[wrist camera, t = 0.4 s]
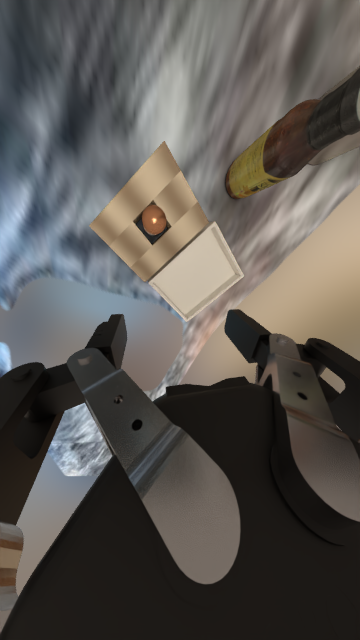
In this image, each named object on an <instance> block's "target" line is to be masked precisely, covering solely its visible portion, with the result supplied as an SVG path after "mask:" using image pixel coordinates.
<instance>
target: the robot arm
mask: <svg viewBox="0 0 360 640" xmlns="http://www.w3.org/2000/svg"><path fill="white" fill-rule="evenodd" d="M359 68H360V66H359V67H358V68H357V69H355V70H354V71H353V72H352V73H350V74H349V75H348V76H347V77H345V78H344V79H343V80H342V81H340V82H339V83H338V84H337V85H336V86H334V87H333V88H332V89H331V90H329V91H328V92H327V93H326V94H324V95H323V96H322V97H321V98H320V99H319V100H322V99H323V98H324V97H325V96H326V95H328V94H329V93H331V92H332V91H334V90H336V89H337V88H338V87H339V86H341V85H342V84H343V83H344V82H346V81H347V80H348V79H349V78H351V77H352V75H353V74H354V73H355V72H356V71H357V70H358V69H359ZM358 147H360V131H359V132H357V133H355V134H353V135H347V136H345V137H343V138H341V139H339V140H337V141H335V142H333V143H332V144H330V145H329V146H327V147H326V148H324V149H322V150H321V151H320V152H319V153H318V154H317V155H316V156H315V157H314V158H313V159H312V160H311V161H309V162H308V164H311V165H317V164H321V163H323V162H325V161H327V160H330V159H332V158H334V157H337V156H339V155H341V154H344V153H346V152H348V151H351V150H353V149H355V148H358ZM225 333H226V335H227V336H228V337H229V338H230V340H231V341H232V342H233V344H234V345H235V346H236V347H237V349H238V350H239V351H240V352H241V354H242V355H243V356H244V358H245V359H246V360H247V361H248V363H256V362H257V363H258V364H257V366H256V378H255V384H253V383H249V382H248V381H247V379H246V378H245V377H244V376H243V377H236V378H228V379H225V380H222V381H220V382H218V383H216V384H213V385H211V386H202V385H191V384H183V385H176V386H168V387H166V394H164V395H162V396H160V397H159V398H157V399H155V400H154V401H153V402H152V401H151V400H150V399H149V397H148V396H147V395H146V394H145V393H144V392H143V391H142V390H141V389H140V388H139V387H138V386H137V384H136V383H135V382H134V381H133V380H132V379H131V378H130V377H129V376H128V375H127V374H126V372H125V371H123V369H121V365H122V360H123V355H124V351H125V347H126V342H127V331H126V325H125V320H124V315H123V314H115V315H111V316H110V318H109V321H108V322H103V323H102V324H100V325H99V326H98V327H97V329H96V330H95V332H94V334H93V336H92V337H91V339H90V340H89V342H88V344H87V346H86V347H85V349H83V350H80V351H78V352H76V353H74V354H73V355H72V356H70V357H69V359H68V360H67V363H65V364H62V365H59V366H55V367H52V368H48V369H46V368H45V367H44V365H43V364H42V363H38V362H35V363H34V362H33V363H28V364H24V365H21V366H19V367H16V368H14V369H12V370H10V371H9V372H7V373H6V374H5V375H3V376H2V377H1V378H0V640H360V361H358V360H357V359H355V358H353V357H352V356H350V355H348V354H347V353H345V352H344V351H342V350H340V349H339V348H337V347H335V346H334V345H332V344H330V343H329V342H326V341H324V340H321V339H317V338H309V339H308V340H307V342H306V344H305V345H303V344H296V343H295V342H294V341H293V340H292V339H291V338H289V337H287V336H285V335H282V334H271V333H270V332H269V331H268V330H266V329H265V328H264V327H263V326H261V325H260V324H259V323H257V322H256V321H255V320H254V319H252V318H251V317H249V316H247V315H246V314H245V313H243V312H242V311H241V310H239V309H237V310H229V311H228V314H227V318H226V323H225ZM326 367H327V368H328V369H330V370H331V371H332V372H334V373H335V374H336V375H338V376H339V377H340V378H341V379H342V380H343V381H344V383H345V390H343V391H342V392H341V394H339V393H338V392H337V391H336V390H335V389H334V388H333V387H332V386H330V385H329V384H328V383H327V382H326V381H325V380H323V379H322V378H321V377H320V375H321V374H322V372H323V371H324V370H325V368H326ZM82 403H85V404H86V406H87V408H88V410H89V411H90V413H91V415H92V417H93V419H94V421H95V423H96V425H97V427H98V429H99V431H100V433H101V435H102V437H103V439H104V441H105V443H106V445H107V446H108V448H109V450H110V452H111V454H112V457H111V459H110V460H109V462H108V463H107V465H106V466H105V468H104V469H103V470H102V472H101V473H100V475H99V476H98V478H97V479H96V481H95V482H94V484H93V485H92V487H91V488H90V489H89V491H88V492H87V494H86V495H85V497H84V498H83V500H82V501H81V503H80V504H79V506H78V507H77V508H76V510H75V511H74V513H73V514H72V516H71V517H70V519H69V520H68V522H67V523H66V525H65V526H64V528H63V529H62V530H61V532H60V533H59V535H58V536H57V538H56V539H55V541H54V542H53V544H52V545H51V546H50V548H49V550H48V551H47V552H46V554H45V555H44V557H43V558H42V560H41V561H40V563H39V564H38V566H37V567H36V569H35V570H34V572H33V573H32V575H31V576H30V578H29V580H28V581H27V583H26V585H25V586H24V588H23V590H22V592H21V593H20V595H19V597H18V595H17V592H16V573H17V569H18V565H19V561H20V558H21V554H22V550H23V544H24V543H23V542H24V538H23V533H22V530H21V529H20V528H19V527H18V526H16V524H17V521H18V519H19V517H20V514H21V512H22V509H23V507H24V505H25V502H26V500H27V498H28V495H29V493H30V491H31V488H32V486H33V484H34V481H35V479H36V477H37V474H38V472H39V470H40V467H41V465H42V463H43V460H44V458H45V456H46V453H47V451H48V449H49V446H50V444H51V442H52V439H53V437H54V435H55V432H56V430H57V428H58V425H59V423H60V421H61V418H62V416H63V414H64V411H65V410H68V409H70V408H73V407H75V406H78V405H80V404H82ZM336 425H337V426H338V427H339V428H340V429H341V430H342V431H341V430H340V429H339V428H338V427H337V426H336Z"/></svg>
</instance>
